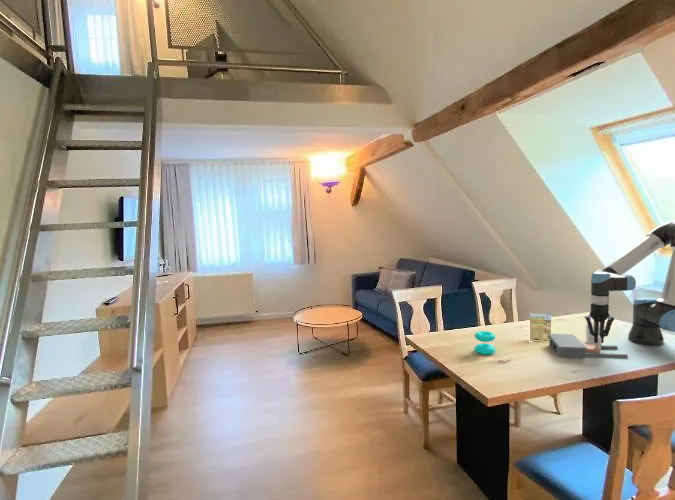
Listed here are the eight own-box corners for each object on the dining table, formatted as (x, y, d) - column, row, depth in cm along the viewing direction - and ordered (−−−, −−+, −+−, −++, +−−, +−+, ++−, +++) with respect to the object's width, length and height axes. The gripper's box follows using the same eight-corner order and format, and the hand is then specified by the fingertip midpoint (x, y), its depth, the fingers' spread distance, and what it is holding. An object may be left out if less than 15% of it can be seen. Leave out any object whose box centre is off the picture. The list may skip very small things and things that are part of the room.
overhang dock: (613, 345, 214) (613, 335, 213) (631, 360, 194) (631, 349, 194) (548, 343, 221) (548, 333, 220) (559, 358, 202) (559, 346, 201)
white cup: (605, 346, 214) (605, 327, 213) (588, 345, 216) (589, 327, 214) (599, 341, 222) (599, 323, 220) (582, 340, 223) (583, 322, 222)
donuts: (478, 329, 220) (497, 332, 214) (478, 347, 221) (497, 350, 215) (471, 334, 212) (491, 337, 206) (472, 353, 213) (491, 356, 207)
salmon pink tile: (593, 349, 211) (593, 343, 210) (599, 355, 203) (600, 349, 203) (563, 348, 214) (563, 342, 213) (568, 354, 206) (568, 348, 206)
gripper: (611, 301, 206) (609, 346, 208) (582, 301, 209) (581, 346, 211) (617, 305, 198) (616, 352, 201) (587, 305, 201) (586, 351, 204)
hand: (598, 349), depth 206 cm, fingers closed
